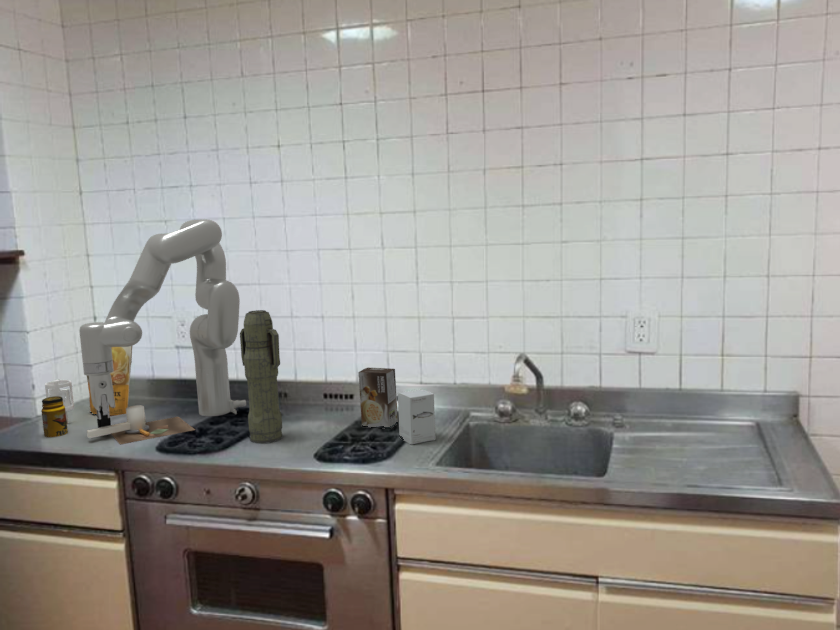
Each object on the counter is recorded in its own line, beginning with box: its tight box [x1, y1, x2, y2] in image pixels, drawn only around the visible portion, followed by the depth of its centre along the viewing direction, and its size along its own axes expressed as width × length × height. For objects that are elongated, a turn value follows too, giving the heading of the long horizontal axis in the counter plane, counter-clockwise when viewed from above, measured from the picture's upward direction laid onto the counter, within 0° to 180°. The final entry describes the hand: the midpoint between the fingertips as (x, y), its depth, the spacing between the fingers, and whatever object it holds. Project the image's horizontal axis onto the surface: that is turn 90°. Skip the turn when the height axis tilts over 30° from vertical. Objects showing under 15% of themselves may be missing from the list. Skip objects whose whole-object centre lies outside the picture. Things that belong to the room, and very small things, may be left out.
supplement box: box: [397, 388, 436, 446], centre depth 187 cm, size 7×7×13 cm
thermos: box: [239, 309, 283, 444], centre depth 192 cm, size 9×12×35 cm
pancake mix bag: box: [86, 346, 133, 417], centre depth 226 cm, size 7×19×28 cm, turn 69°
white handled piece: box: [86, 404, 150, 439], centre depth 195 cm, size 16×11×7 cm
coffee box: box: [357, 367, 399, 428], centre depth 201 cm, size 9×6×16 cm
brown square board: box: [110, 416, 196, 445], centre depth 202 cm, size 20×18×2 cm
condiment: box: [40, 396, 69, 438], centre depth 201 cm, size 7×8×12 cm
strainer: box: [44, 378, 75, 425], centre depth 212 cm, size 7×7×15 cm
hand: (105, 432), depth 198 cm, fingers closed
